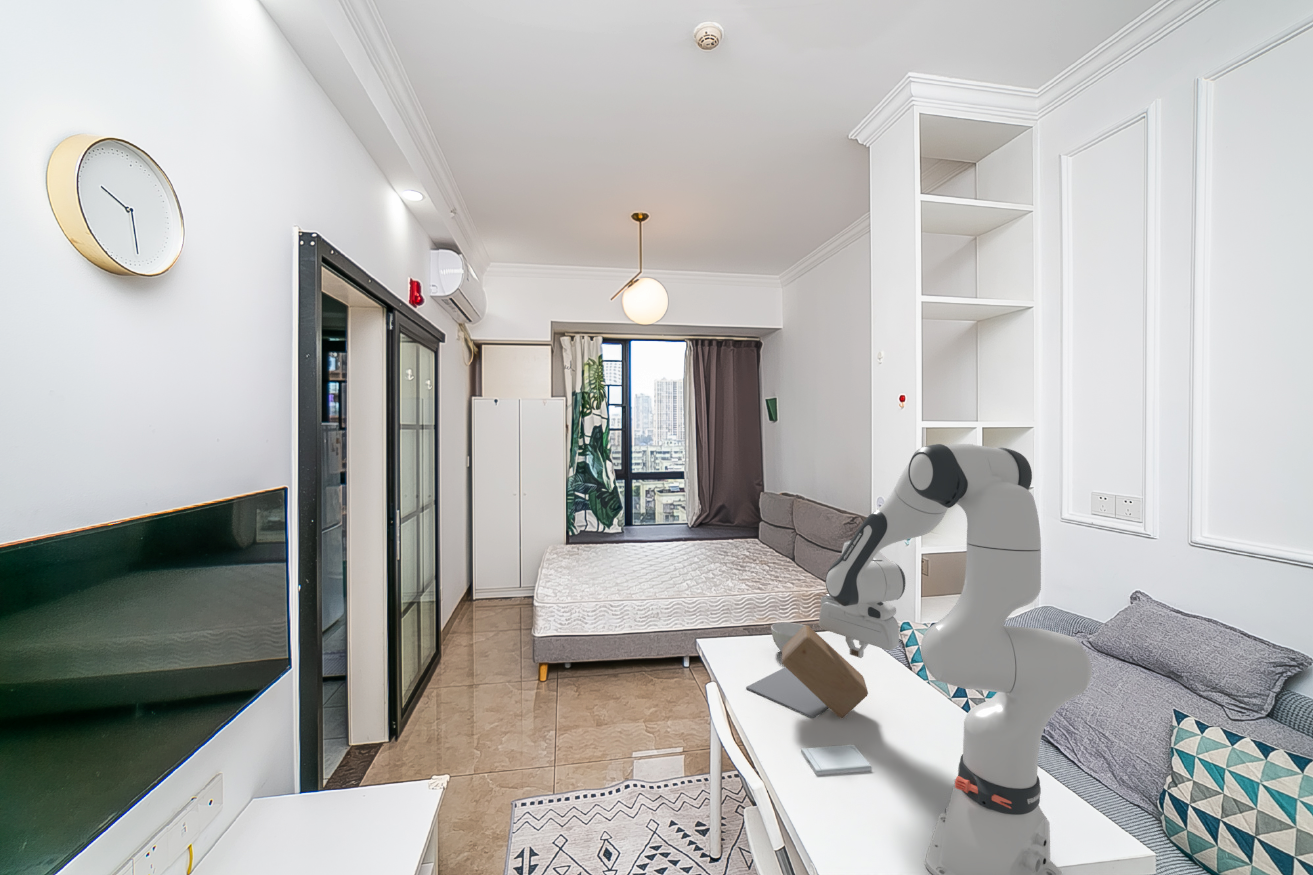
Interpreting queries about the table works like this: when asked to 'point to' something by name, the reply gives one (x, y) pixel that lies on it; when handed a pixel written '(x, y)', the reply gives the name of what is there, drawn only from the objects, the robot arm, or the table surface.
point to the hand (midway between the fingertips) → (856, 655)
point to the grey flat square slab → (789, 693)
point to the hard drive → (835, 759)
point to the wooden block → (824, 671)
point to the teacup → (784, 632)
